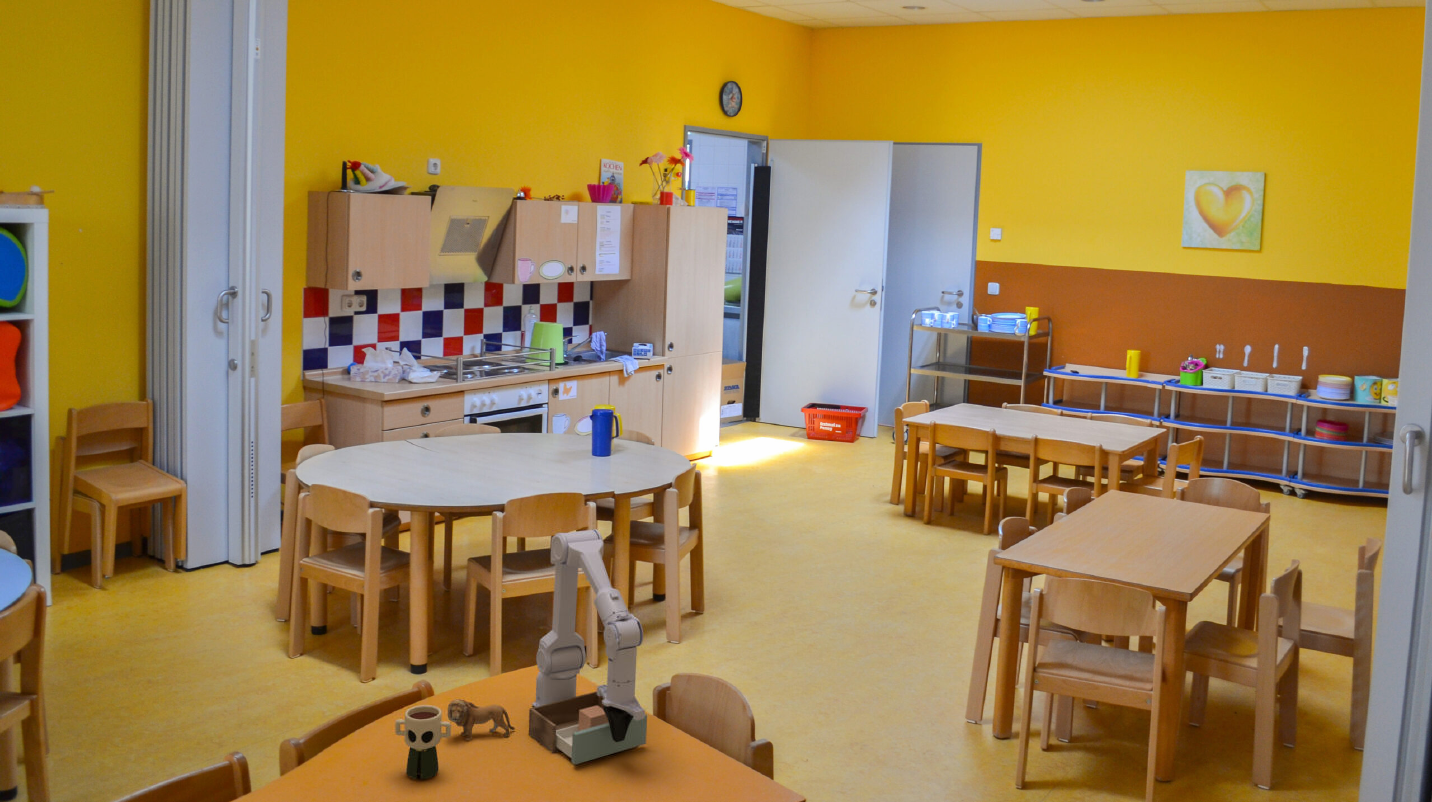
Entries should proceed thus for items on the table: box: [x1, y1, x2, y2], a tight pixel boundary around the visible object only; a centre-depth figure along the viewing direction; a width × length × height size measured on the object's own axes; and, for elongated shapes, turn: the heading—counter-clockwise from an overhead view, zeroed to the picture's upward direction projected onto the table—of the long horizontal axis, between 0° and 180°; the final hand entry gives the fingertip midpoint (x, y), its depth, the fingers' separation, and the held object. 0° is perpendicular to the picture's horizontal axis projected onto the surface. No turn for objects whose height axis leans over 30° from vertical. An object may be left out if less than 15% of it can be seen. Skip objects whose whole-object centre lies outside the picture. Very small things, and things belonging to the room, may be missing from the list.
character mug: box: [394, 704, 452, 780], centre depth 232 cm, size 11×7×13 cm, turn 90°
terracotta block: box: [578, 706, 608, 731], centre depth 249 cm, size 4×4×6 cm
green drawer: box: [556, 713, 648, 765], centre depth 247 cm, size 11×18×6 cm, turn 129°
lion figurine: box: [446, 698, 516, 742], centre depth 250 cm, size 15×5×9 cm, turn 117°
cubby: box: [528, 690, 605, 754], centre depth 254 cm, size 10×18×6 cm, turn 129°
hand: (618, 739), depth 241 cm, fingers closed
